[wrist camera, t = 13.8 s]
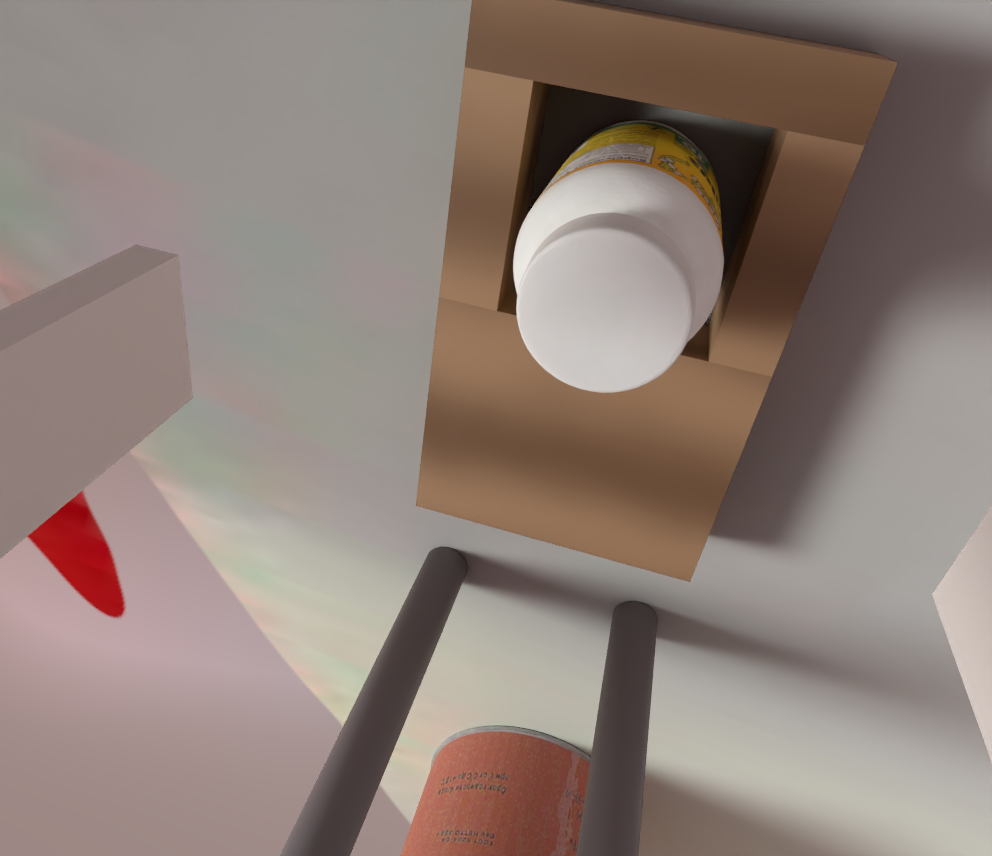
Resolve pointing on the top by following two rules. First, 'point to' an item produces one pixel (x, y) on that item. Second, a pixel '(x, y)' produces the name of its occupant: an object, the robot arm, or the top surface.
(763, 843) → the top surface
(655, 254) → the supplement bottle
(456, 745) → the canned food
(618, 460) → the socket block
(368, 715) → the grey l-shaped post
